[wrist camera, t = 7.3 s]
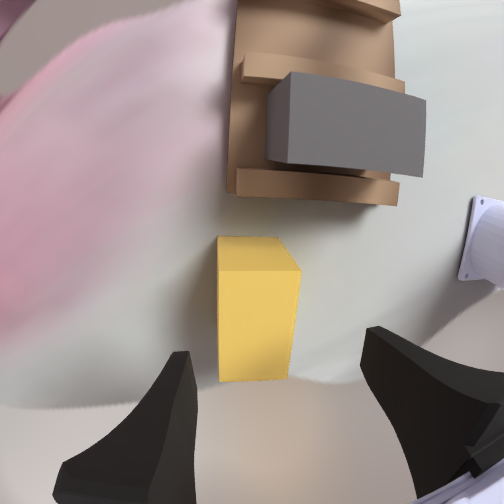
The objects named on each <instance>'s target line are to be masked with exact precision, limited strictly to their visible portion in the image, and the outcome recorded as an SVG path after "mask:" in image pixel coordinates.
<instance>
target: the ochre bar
mask: <svg viewBox="0 0 504 504" xmlns="http://www.w3.org/2000/svg"><path fill="white" fill-rule="evenodd" d="M301 273H302V271H301V269H300V268H299V266H298V265H297V263H296V262H295V261H294V259H293V258H292V256H291V255H290V253H289V252H288V251H287V249H286V248H285V246H284V245H283V244H282V242H281V241H280V239H279V238H278V237H239V236H217V342H218V366H219V382H238V381H262V380H279V379H287V375H288V369H289V362H290V356H291V349H292V342H293V335H294V328H295V321H296V313H297V306H298V298H299V290H300V281H301Z"/></svg>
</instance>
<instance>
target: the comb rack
mask: <svg viewBox="0 0 504 504" xmlns="http://www.w3.org/2000/svg"><path fill="white" fill-rule="evenodd" d="M399 16H401V11H400V2H399V0H238V3H237V15H236V27H235V41H234V55H233V70H232V86H231V103H230V122H229V143H228V166H227V192H233V193H236V194H237V196H238V197H267V198H290V199H309V200H326V201H341V202H354V203H367V204H379V205H390V206H397V202H398V194H399V185H400V183H398V182H394V181H390V174H391V173H388V172H380V171H372V170H363V169H354V168H344V167H334V166H322V165H309V164H294V163H284V162H279V161H273V160H267V159H265V136H266V110H267V95H268V94H269V93H270V92H271V91H272V90H273V89H274V88H275V87H276V86H277V85H278V84H279V83H280V82H281V81H282V80H283V79H284V78H285V77H286V76H287V75H288V74H289V73H290V72H291V71H293V72H301V73H309V74H315V75H322V76H328V77H334V78H339V79H345V80H350V81H355V82H359V83H364V84H368V85H373V86H377V87H381V88H385V89H389V90H393V91H396V92H400V93H404V94H405V82H404V81H401V80H398V79H395V63H394V40H393V25H392V20H394V19H396V18H397V17H399Z"/></svg>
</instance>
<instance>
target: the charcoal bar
mask: <svg viewBox="0 0 504 504" xmlns="http://www.w3.org/2000/svg"><path fill="white" fill-rule="evenodd" d="M425 133H426V100H423V99H420V98H417V97H414V96H410V95H407V94H404V93H400V92H396V91H393V90H389V89H385V88H381V87H377V86H373V85H368V84H364V83H359V82H355V81H350V80H345V79H339V78H334V77H328V76H322V75H315V74H309V73H301V72H293V71H291V72H290V73H289V74H288V75H287V76H286V77H285V78H284V79H283V80H282V81H281V82H280V83H279V84H278V85H277V86H276V87H275V88H274V89H273V90H272V91H271V92H270V93H269V94H268V95H267V110H266V136H265V159H267V160H273V161H279V162H284V163H294V164H309V165H322V166H334V167H344V168H354V169H363V170H372V171H380V172H388V173H395V174H402V175H409V176H416V177H422V178H423V167H424V153H425Z"/></svg>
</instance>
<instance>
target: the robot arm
mask: <svg viewBox="0 0 504 504" xmlns="http://www.w3.org/2000/svg"><path fill="white" fill-rule="evenodd" d="M480 202H481V203H480ZM458 279H459V280H461V281H468V280H480V279H487V280H488V281H490V282H492V283H493V284H495V285H496V286H498V287H500V288H501V289H503V290H504V201H500V200H496V199H491V198H487V197H482V196H478V195H476V196H475V197H474V199H473V205H472V211H471V217H470V223H469V229H468V234H467V239H466V244H465V248H464V253H463V257H462V261H461V265H460V269H459V273H458ZM360 367H361V370H362V372H363V375H364V377H365V379H366V382H367V384H368V386H369V387H370V389H371V391H372V392H373V394H374V396H375V397H376V399H377V401H378V402H379V404H380V405H381V407H382V409H383V410H384V412H385V414H386V415H387V417H388V419H389V420H390V422H391V424H392V426H393V427H394V430H395V432H396V434H397V437H398V439H399V441H400V444H401V446H402V449H403V452H404V454H405V457H406V460H407V463H408V466H409V469H410V472H411V475H412V479H413V483H414V487H415V490H416V495H417V500H415V501H413V502H411V503H409V504H504V373H503V372H494V371H487V370H482V369H477V368H473V367H469V366H465V365H462V364H459V363H456V362H453V361H450V360H447V359H445V358H442V357H440V356H438V355H435V354H433V353H431V352H429V351H427V350H424V349H423V348H421V347H419V346H417V345H415V344H413V343H411V342H409V341H407V340H406V339H404V338H402V337H400V336H398V335H396V334H395V333H393V332H391V331H389V330H387V329H385V328H383V327H381V326H376V327H371V328H367V329H366V335H365V341H364V347H363V352H362V357H361V362H360ZM197 402H198V401H197V386H196V382H195V377H194V372H193V368H192V363H191V358H190V353H189V351H180V352H173V353H172V354H171V356H170V358H169V359H168V361H167V363H166V365H165V366H164V368H163V370H162V371H161V373H160V374H159V376H158V378H157V379H156V381H155V382H154V384H153V385H152V387H151V388H150V389H149V391H148V392H147V393H146V395H145V396H144V397H143V399H142V400H141V401H140V402H139V404H138V405H137V406H136V407H135V408H134V409H133V411H132V412H131V413H130V414H129V415H128V416H127V417H126V418H125V419H124V420H123V421H122V422H121V423H120V424H119V425H118V426H117V427H116V428H114V429H113V430H112V431H111V432H110V433H109V434H108V435H106V436H105V437H104V438H103V439H101V440H100V441H98V442H97V443H95V444H94V445H93V446H91V447H90V448H88V449H86V450H85V451H83V452H82V453H80V454H78V455H76V456H74V457H72V458H71V459H69V460H67V461H65V462H63V464H62V466H61V468H60V470H59V473H58V476H57V480H56V484H55V487H54V491H53V494H52V495H53V498H54V500H55V501H56V502H57V503H58V504H196V492H195V477H194V450H195V437H196V426H197V413H198V403H197Z"/></svg>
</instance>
